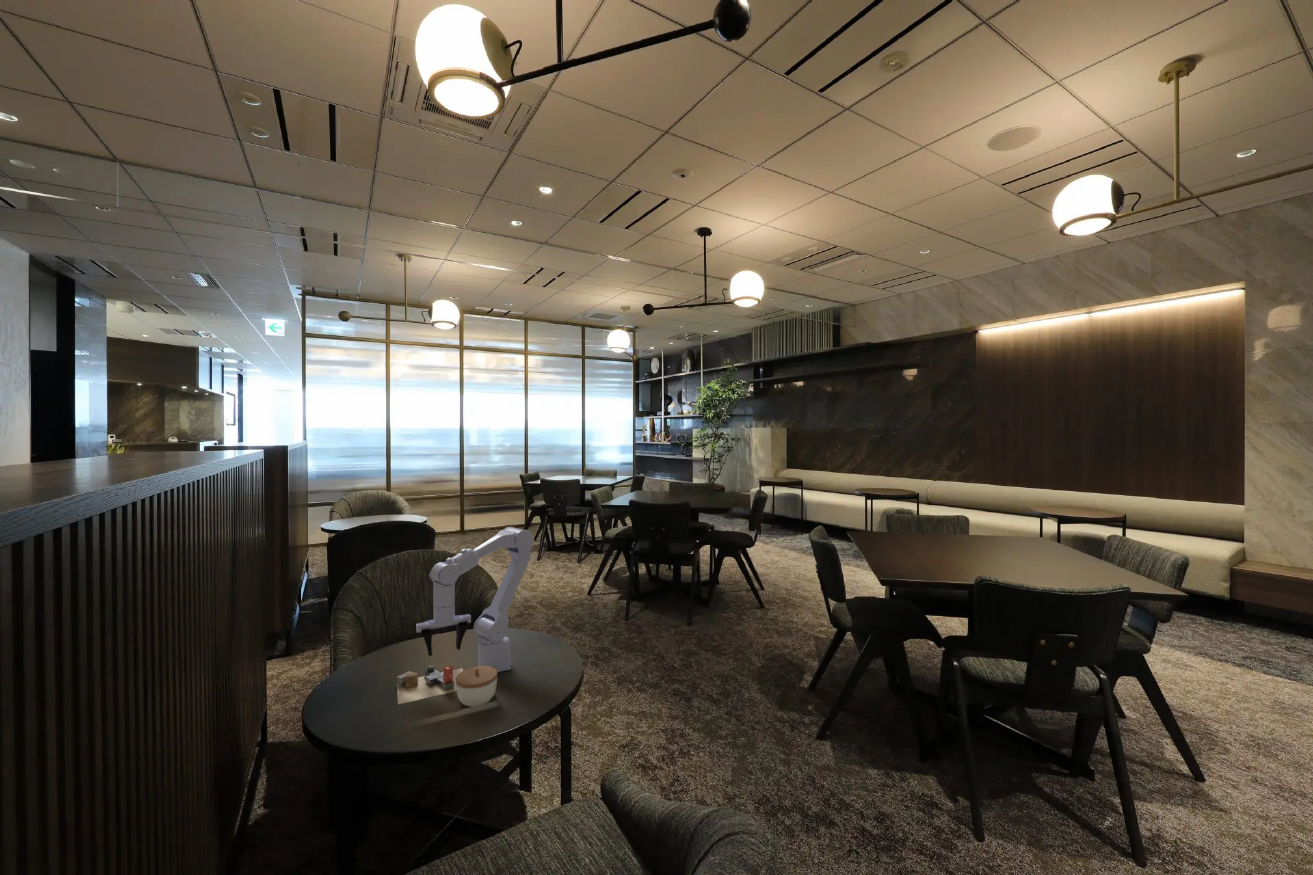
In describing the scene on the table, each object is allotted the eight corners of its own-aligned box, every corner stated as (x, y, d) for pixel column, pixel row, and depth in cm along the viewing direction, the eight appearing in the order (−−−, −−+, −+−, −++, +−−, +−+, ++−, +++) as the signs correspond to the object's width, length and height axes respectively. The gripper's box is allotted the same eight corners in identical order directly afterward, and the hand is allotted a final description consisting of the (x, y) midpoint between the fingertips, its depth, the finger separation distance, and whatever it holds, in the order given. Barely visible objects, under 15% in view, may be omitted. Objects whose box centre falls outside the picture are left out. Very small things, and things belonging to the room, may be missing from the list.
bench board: (462, 671, 156) (462, 658, 156) (469, 692, 144) (469, 678, 144) (396, 685, 147) (396, 672, 147) (397, 708, 135) (397, 693, 135)
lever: (433, 671, 153) (433, 652, 153) (456, 686, 144) (456, 667, 144) (418, 676, 150) (418, 658, 150) (440, 692, 141) (440, 672, 141)
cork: (417, 681, 147) (417, 671, 147) (418, 686, 145) (418, 676, 145) (405, 684, 146) (405, 673, 146) (405, 689, 143) (405, 678, 143)
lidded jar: (473, 718, 131) (473, 681, 131) (447, 706, 136) (447, 671, 136) (506, 699, 140) (505, 665, 140) (480, 689, 145) (479, 656, 145)
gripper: (467, 596, 154) (467, 641, 154) (414, 605, 146) (414, 652, 146) (472, 603, 148) (472, 649, 148) (418, 612, 140) (418, 661, 140)
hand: (444, 651), depth 147 cm, fingers open, 7 cm apart
